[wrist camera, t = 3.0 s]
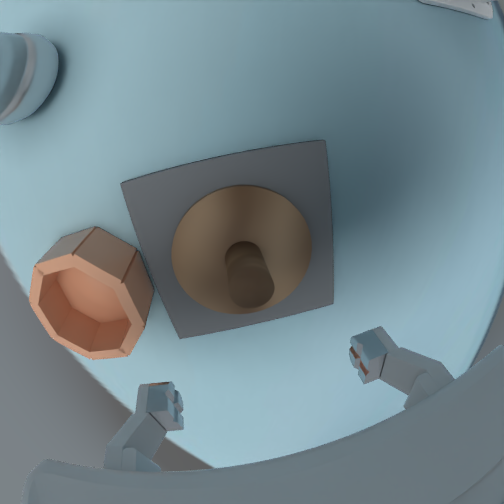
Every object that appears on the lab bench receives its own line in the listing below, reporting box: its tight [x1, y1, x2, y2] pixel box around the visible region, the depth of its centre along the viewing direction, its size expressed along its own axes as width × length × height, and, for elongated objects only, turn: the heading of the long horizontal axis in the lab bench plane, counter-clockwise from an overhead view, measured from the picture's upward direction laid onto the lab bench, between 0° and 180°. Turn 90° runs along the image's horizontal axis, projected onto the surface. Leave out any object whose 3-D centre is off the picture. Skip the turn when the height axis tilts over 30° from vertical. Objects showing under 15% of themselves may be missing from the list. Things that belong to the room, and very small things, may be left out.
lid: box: [171, 185, 312, 314], centre depth 18 cm, size 10×10×5 cm
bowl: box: [29, 227, 154, 360], centre depth 18 cm, size 9×9×4 cm
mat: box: [120, 140, 334, 339], centre depth 20 cm, size 14×14×1 cm
